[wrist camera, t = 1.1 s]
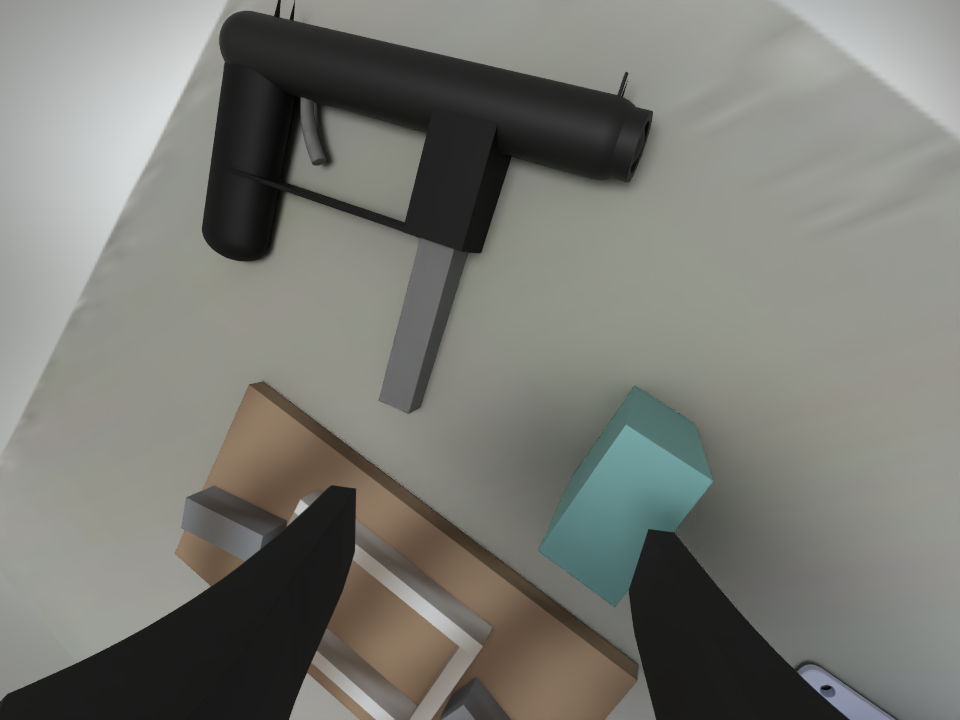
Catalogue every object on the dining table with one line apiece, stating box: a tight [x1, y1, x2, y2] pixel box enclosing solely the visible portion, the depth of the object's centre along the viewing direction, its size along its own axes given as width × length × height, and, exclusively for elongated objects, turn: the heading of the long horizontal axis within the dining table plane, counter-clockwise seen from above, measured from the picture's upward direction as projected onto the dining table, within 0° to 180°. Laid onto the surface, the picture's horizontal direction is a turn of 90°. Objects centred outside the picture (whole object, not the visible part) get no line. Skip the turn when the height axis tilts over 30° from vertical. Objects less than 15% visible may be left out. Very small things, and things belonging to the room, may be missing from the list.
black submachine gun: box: [202, 0, 653, 414], centre depth 23 cm, size 3×20×16 cm
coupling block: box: [538, 386, 713, 607], centre depth 19 cm, size 3×5×7 cm, turn 148°
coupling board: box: [175, 382, 638, 720], centre depth 26 cm, size 23×12×3 cm, turn 59°
